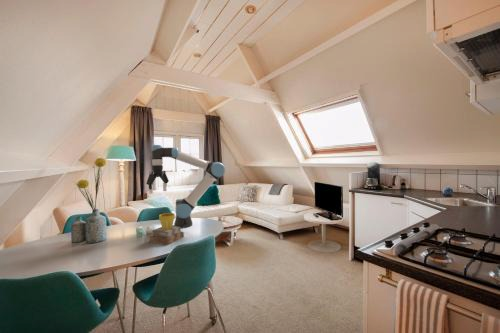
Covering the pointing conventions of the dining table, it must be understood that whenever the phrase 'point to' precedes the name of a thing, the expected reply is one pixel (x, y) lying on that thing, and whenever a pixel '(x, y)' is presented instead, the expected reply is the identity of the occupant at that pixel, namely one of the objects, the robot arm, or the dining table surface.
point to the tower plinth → (166, 240)
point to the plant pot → (167, 220)
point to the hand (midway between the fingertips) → (158, 192)
